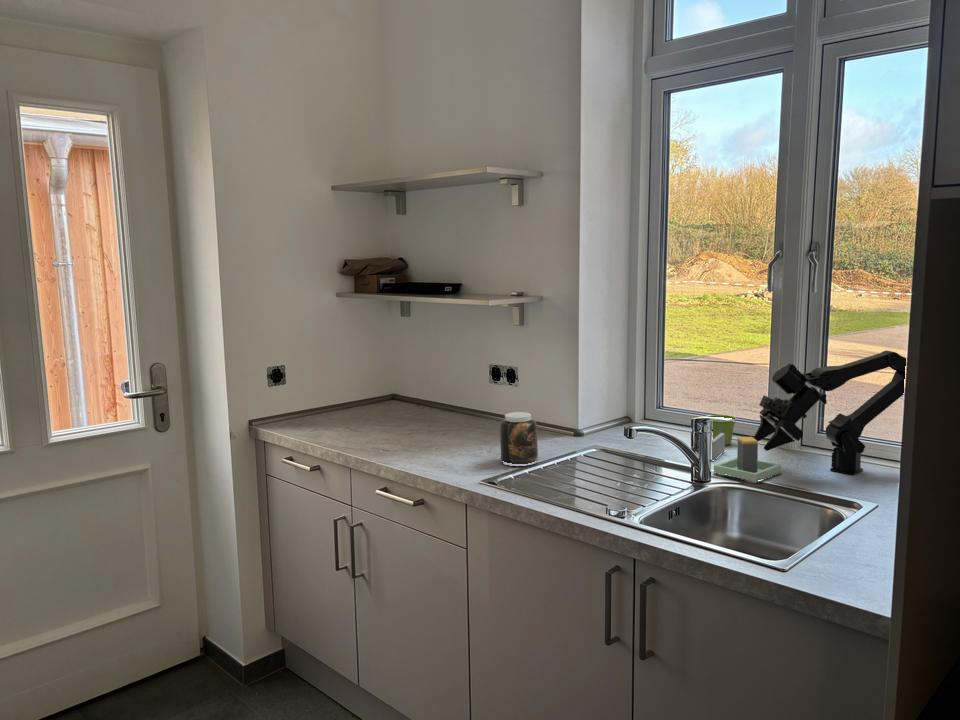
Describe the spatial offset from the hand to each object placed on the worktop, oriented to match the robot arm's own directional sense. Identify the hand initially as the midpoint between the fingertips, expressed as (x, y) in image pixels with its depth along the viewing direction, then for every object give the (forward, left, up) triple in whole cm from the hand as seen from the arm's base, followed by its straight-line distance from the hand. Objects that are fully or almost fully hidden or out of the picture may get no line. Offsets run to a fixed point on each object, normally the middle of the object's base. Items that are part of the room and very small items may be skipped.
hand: (759, 445), depth 209 cm
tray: (+2, +2, -8) cm, 9 cm away
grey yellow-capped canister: (+2, +2, -8) cm, 8 cm away
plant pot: (+26, -22, -8) cm, 35 cm away
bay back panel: (+18, -8, -8) cm, 21 cm away
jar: (+58, +38, -8) cm, 70 cm away
